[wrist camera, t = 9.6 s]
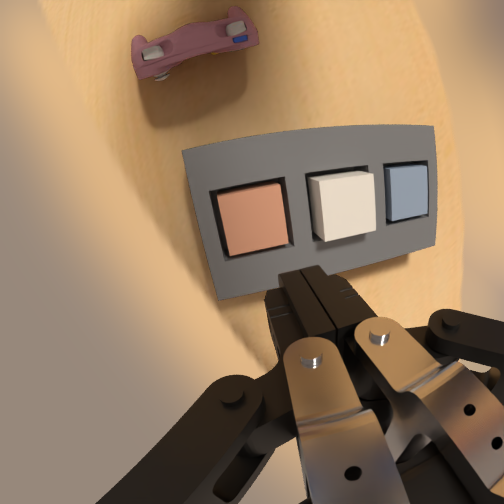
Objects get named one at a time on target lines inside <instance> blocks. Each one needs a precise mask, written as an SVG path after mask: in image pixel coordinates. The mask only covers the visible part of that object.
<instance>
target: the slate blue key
mask: <svg viewBox="0 0 504 504" xmlns="http://www.w3.org/2000/svg"><path fill="white" fill-rule="evenodd" d="M383 171H384V186H385V212H386V218H387V219H389V220H391V221H394V220H399V219H404V218H408V217H413V216H418V215H422V214H427V209H428V185H427V166H424V165H419V164H413V163H404V164H392V165H383Z"/></svg>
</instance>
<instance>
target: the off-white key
mask: <svg viewBox="0 0 504 504" xmlns="http://www.w3.org/2000/svg"><path fill="white" fill-rule="evenodd" d="M307 179H308V186H309V194H310V202H311V211H312V220H313V229H314V232H315V233H316V234H317V235H318V236H319V237H320V238H321V239H323V240H324V241H325V242H327V241H331V240H336V239H340V238H345V237H349V236H353V235H358V234H362V233H367V232H371V231H376V210H375V190H374V176H373V174H372V173H367V172H363V171H358V170H356V171H348V172H340V173H333V174H326V175H319V176H313V177H307Z"/></svg>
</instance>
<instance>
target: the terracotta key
mask: <svg viewBox="0 0 504 504" xmlns="http://www.w3.org/2000/svg"><path fill="white" fill-rule="evenodd" d="M217 199H218V203H219V208H220V213H221V217H222V222H223V226H224V231H225V236H226V240H227V245H228V249H229V253H230V256H232V255H237V254H241V253H246V252H250V251H255V250H260V249H264V248H269V247H274V246H278V245H283V244H288V243H289V242H288V235H287V228H286V221H285V214H284V207H283V200H282V194H281V187H280V184H278V183H276V182H274V181H268V182H263V183H257V184H252V185H247V186H242V187H237V188H232V189H227V190H222V191H218V192H217Z"/></svg>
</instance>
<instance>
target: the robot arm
mask: <svg viewBox="0 0 504 504" xmlns="http://www.w3.org/2000/svg"><path fill="white" fill-rule="evenodd" d="M278 281H279V288H276V289H272V290H267V293H266V296H265V299H264V302H265V307H266V312H267V318H268V323H269V328H270V333H271V337H272V340H273V343H274V346H275V350H276V353H277V356H278V360H279V361H278V363H277V364H276V366H275V367H274V368H273V369H272V370H271V371H269V372H268V373H266V374H265V375H263V376H261V377H259V378H257V379H255V380H254V379H252V378H250V377H248V376H244V375H229V376H225V377H222V378H220V379H218V380H216V381H215V382H213V383H212V384H211V385H210V386H209V387H208V388H207V389H206V390H205V392H204V393H203V394H202V395H201V396H200V397H199V398H198V400H197V401H196V402H195V403H194V404H193V405H192V406H191V407H190V408H189V410H188V411H187V412H186V413H185V414H184V415H183V416H182V418H180V419H179V421H178V422H177V423H176V424H175V425H174V426H173V427H172V428H171V429H170V430H169V432H167V434H166V435H165V436H164V437H163V438H162V439H161V440H160V441H159V442H158V443H157V444H156V445H155V446H154V447H153V448H152V450H150V451H149V452H148V454H146V455H145V457H143V458H142V459H141V461H140V462H139V463H138V464H137V465H136V466H134V467H133V468H132V469H131V470H130V472H128V473H127V475H125V476H124V477H123V478H122V479H121V480H120V481H119V482H118V483H117V484H116V485H115V486H114V487H113V488H112V489H111V490H110V491H109V492H108V493H106V494H105V495H104V496H103V497H102V498H101V499H100V500H99V501H98V502H96V504H238V503H239V502H240V500H241V499H242V498H243V496H244V495H245V494H246V492H247V491H248V489H249V488H250V487H251V485H252V484H253V483H254V481H255V480H256V478H257V477H258V475H259V474H260V472H261V471H262V469H263V468H264V466H265V465H266V463H267V462H268V460H269V459H270V457H271V456H272V454H273V453H274V451H275V448H277V447H279V446H281V445H282V444H284V443H286V442H288V441H289V440H291V439H293V438H294V437H296V440H297V446H298V450H299V456H300V461H301V467H302V473H303V479H304V485H305V490H306V496H307V499H305V500H304V501H302V502H301V503H299V504H504V322H502V321H498V320H494V319H489V318H485V317H481V316H477V315H473V314H469V313H465V312H461V311H457V310H452V309H441V310H438V311H436V312H434V313H433V314H432V315H431V316H430V318H429V322H428V326H422V327H415V328H403V327H402V326H401V325H400V324H399V323H397V322H396V321H394V320H392V319H389V318H385V317H378V316H377V315H376V314H375V313H374V311H373V310H372V309H371V308H370V307H369V306H368V304H367V303H366V302H365V301H364V300H363V299H362V297H361V296H360V295H358V293H357V292H356V290H355V289H353V288H352V286H351V285H350V284H349V282H348V281H347V280H346V279H344V278H342V277H340V276H338V275H336V274H333V275H329V276H328V275H327V274H326V273H325V272H324V270H323V269H322V268H321V267H320V266H319V265H314V266H310V267H306V268H301V269H299V270H298V269H297V270H293V271H289V272H284V273H280V274H278ZM459 359H464V360H467V361H471V362H475V363H479V364H482V365H486V366H490V367H491V369H490V370H489V371H487V372H485V373H480V372H476V371H472V370H469V369H468V368H467V367H466V366H464V365H463V364H462V363H460V362H458V360H459Z"/></svg>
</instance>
